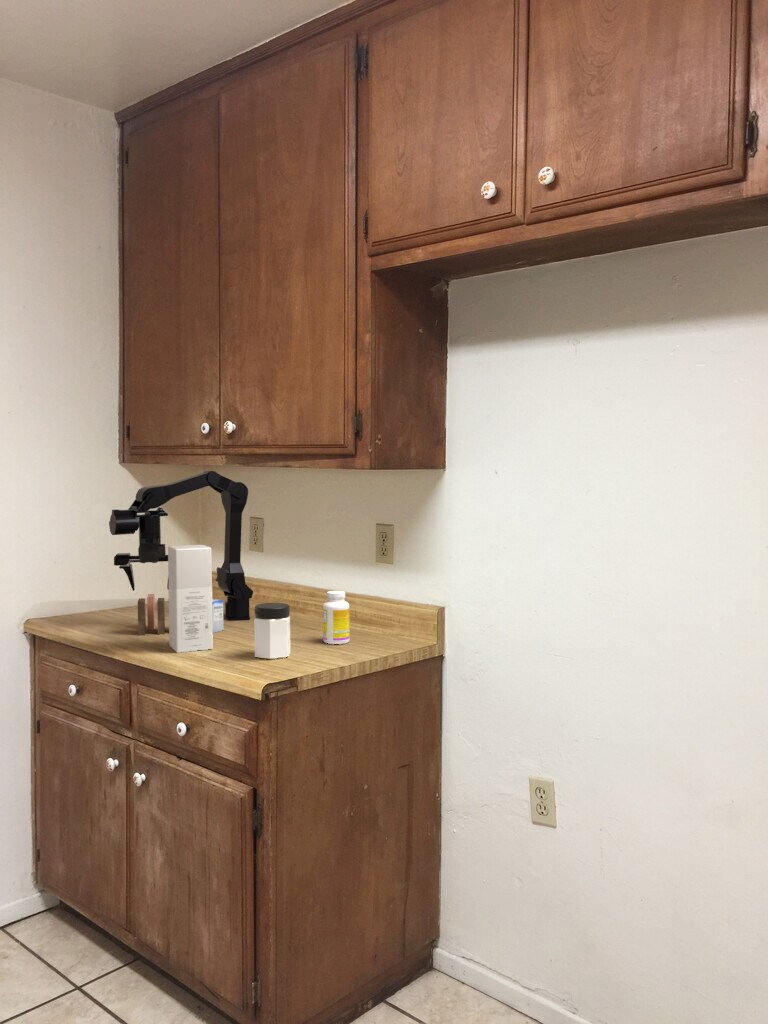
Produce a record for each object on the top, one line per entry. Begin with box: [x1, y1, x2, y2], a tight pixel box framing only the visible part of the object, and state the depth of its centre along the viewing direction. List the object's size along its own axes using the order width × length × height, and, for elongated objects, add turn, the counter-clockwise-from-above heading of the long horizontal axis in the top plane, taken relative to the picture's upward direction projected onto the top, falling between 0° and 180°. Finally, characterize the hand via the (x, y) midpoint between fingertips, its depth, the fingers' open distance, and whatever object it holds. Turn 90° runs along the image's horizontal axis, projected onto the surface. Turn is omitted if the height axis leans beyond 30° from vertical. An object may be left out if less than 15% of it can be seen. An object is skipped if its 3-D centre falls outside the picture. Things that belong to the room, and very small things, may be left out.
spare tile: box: [146, 594, 156, 631], centre depth 241 cm, size 2×5×9 cm, turn 12°
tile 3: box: [137, 598, 147, 636], centre depth 234 cm, size 2×5×9 cm, turn 12°
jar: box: [253, 602, 291, 658], centre depth 207 cm, size 9×8×12 cm
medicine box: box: [212, 598, 224, 634], centre depth 237 cm, size 8×4×9 cm, turn 62°
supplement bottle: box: [322, 590, 351, 645], centre depth 222 cm, size 7×7×13 cm
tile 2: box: [156, 597, 166, 636], centre depth 235 cm, size 2×5×9 cm, turn 12°
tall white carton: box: [167, 544, 214, 654], centre depth 215 cm, size 9×9×25 cm
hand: (151, 589), depth 241 cm, fingers open, 9 cm apart
